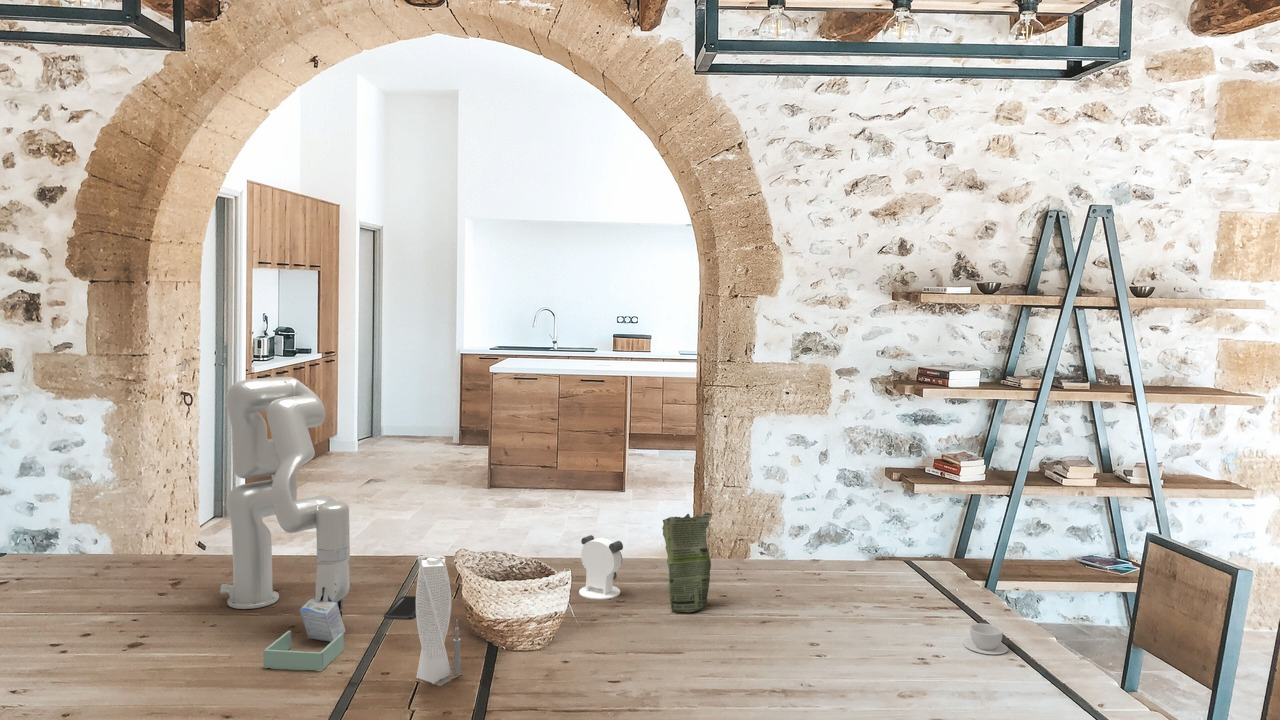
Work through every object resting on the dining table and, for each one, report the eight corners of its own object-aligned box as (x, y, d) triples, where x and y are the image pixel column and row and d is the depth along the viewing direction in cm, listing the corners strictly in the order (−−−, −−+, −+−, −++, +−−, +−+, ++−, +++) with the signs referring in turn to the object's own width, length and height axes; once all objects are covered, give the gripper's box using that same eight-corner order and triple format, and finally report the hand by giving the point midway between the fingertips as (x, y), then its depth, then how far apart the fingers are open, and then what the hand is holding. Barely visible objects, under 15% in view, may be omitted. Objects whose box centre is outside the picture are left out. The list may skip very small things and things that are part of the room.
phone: (383, 615, 235) (402, 595, 250) (383, 619, 235) (402, 599, 250) (413, 616, 235) (431, 596, 249) (413, 621, 235) (431, 600, 250)
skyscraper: (435, 690, 195) (434, 559, 193) (407, 681, 199) (406, 553, 197) (463, 676, 202) (462, 549, 200) (435, 667, 207) (435, 543, 204)
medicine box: (346, 631, 222) (338, 602, 219) (334, 643, 218) (325, 613, 215) (319, 626, 225) (311, 597, 222) (307, 638, 221) (298, 609, 218)
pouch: (658, 610, 243) (660, 516, 241) (674, 596, 254) (675, 506, 252) (699, 616, 239) (701, 521, 237) (713, 602, 250) (715, 510, 248)
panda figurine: (630, 591, 258) (630, 538, 257) (606, 602, 249) (607, 547, 248) (594, 583, 265) (595, 531, 264) (570, 594, 255) (571, 540, 254)
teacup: (987, 659, 215) (988, 639, 215) (954, 644, 224) (955, 625, 223) (1017, 651, 220) (1018, 632, 219) (984, 637, 228) (985, 618, 228)
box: (263, 668, 204) (263, 650, 204) (288, 647, 216) (288, 630, 216) (321, 671, 203) (321, 653, 203) (343, 649, 215) (343, 633, 215)
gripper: (331, 544, 231) (332, 616, 233) (304, 562, 216) (306, 639, 218) (360, 545, 231) (361, 617, 232) (335, 563, 216) (337, 640, 217)
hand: (334, 627), depth 225 cm, fingers closed
